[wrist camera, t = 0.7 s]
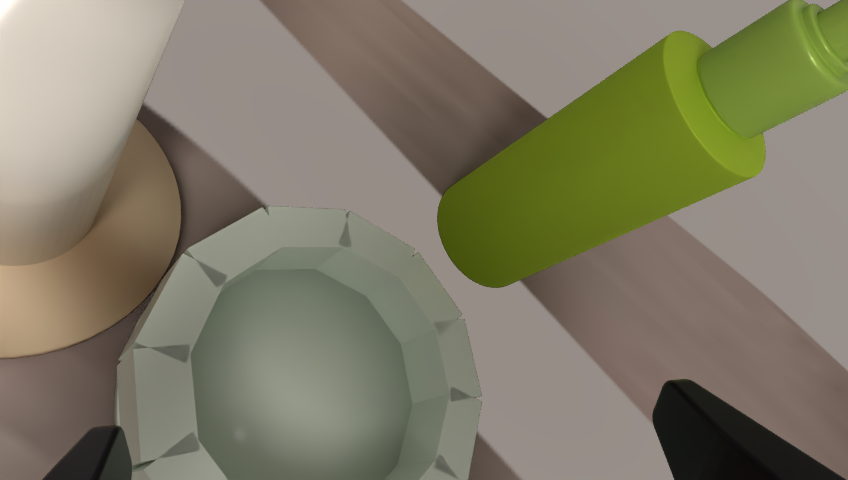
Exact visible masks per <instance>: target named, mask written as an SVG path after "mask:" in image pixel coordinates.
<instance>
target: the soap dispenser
mask: <svg viewBox="0 0 848 480" xmlns="http://www.w3.org/2000/svg"><path fill="white" fill-rule="evenodd" d="M847 90H848V0H840V1H838V2H837V3H835V4H834V5H832V6H830V7H828V8H827V9H825V10H824V9H823V8H821V7H820V6H819V5H817V4H810V5H809V4H808V3H806V2H805V1H803V0H788V1H787V2H785V3H784V4H782V5H780V6H778V7H777V8H775V9H774V10H772V11H771V12H769V13H768V14H766V15H765V16H763V17H761V18H760V19H758V20H757V21H755V22H753V23H752V24H750V25H749V26H747V27H746V28H744V29H742V30H741V31H739V32H738V33H736V34H735V35H733V36H731V37H730V38H728V39H727V40H725V41H724V42H722V43H720V44H719V45H717V46H716V47H714V48H712V47H711V46H710V45H708V44H707V43H706V42H705V41H703V40H702V39H700V38H699V37H697V36H695V35H693V34H691V33H689V32H685V31H675V32H672V33H671V34H669V35H668V36H666V37H665V38H663V39H662V40H660V41H659V42H658V43H656V44H655V45H653V46H652V47H650V48H649V49H648V50H646V51H645V52H643V53H642V54H641V55H639V56H637V57H636V58H635V59H633V60H632V61H630V62H629V63H627V64H626V65H625V66H623V67H622V68H620V69H619V70H617V71H616V72H615V73H613V74H612V75H610V76H609V77H607V78H606V79H605V80H603V81H602V82H600V83H599V84H597V85H596V86H594V87H593V88H592V89H590V90H589V91H587V92H586V93H584V94H583V95H582V96H580V97H579V98H577V99H576V100H574V101H573V102H572V103H570V104H569V105H567V106H566V107H564V108H563V109H562V110H560V111H559V112H558V113H556V114H554V115H553V116H551V117H550V118H549V119H547V120H546V121H544V122H543V123H541V124H540V125H539V126H537V127H536V128H534V129H533V130H531V131H530V132H528V133H527V134H526V135H524V136H523V137H521V138H520V139H518V140H517V141H516V142H514V143H513V144H511V145H510V146H508V147H507V148H506V149H504V150H503V151H501V152H500V153H498V154H497V155H496V156H494V157H493V158H491V159H490V160H488V161H487V162H485V163H484V164H483V165H481V166H480V167H478V168H477V169H475V170H474V171H473V172H471V173H470V174H468V175H467V176H465V177H464V178H463V179H461V180H460V181H458V182H457V183H455V184H454V185H452V186H451V187H450V188H449V189H448V190H447V191H446V192H445V193H444V195H443V197H442V198H441V201H440V204H439V207H438V216H437V222H438V230H439V234H440V238H441V241H442V244H443V246H444V248H445V250H446V252H447V254H448V256H449V257H450V259H451V260H452V262H453V263H454V264H455V266H456V267H457V268H458V269H459V270H460V271H461V272H462V273H463V274H464V275H465V276H467V277H468V278H469V279H471V280H472V281H474V282H476V283H478V284H480V285H483V286H486V287H492V288H499V287H504V286H507V285H510V284H512V283H514V282H516V281H519V280H521V279H523V278H526V277H528V276H530V275H532V274H535V273H537V272H539V271H541V270H544V269H546V268H548V267H551V266H553V265H555V264H557V263H560V262H562V261H564V260H566V259H569V258H571V257H573V256H575V255H578V254H580V253H582V252H585V251H587V250H589V249H591V248H594V247H596V246H598V245H600V244H603V243H605V242H607V241H609V240H612V239H614V238H616V237H619V236H621V235H623V234H625V233H628V232H630V231H632V230H634V229H637V228H639V227H641V226H644V225H646V224H648V223H650V222H653V221H655V220H657V219H659V218H662V217H664V216H666V215H668V214H671V213H673V212H675V211H678V210H680V209H682V208H684V207H687V206H689V205H691V204H693V203H696V202H698V201H700V200H702V199H705V198H707V197H709V196H712V195H714V194H716V193H718V192H721V191H723V190H725V189H727V188H730V187H732V186H734V185H737V184H739V183H741V182H743V181H746V180H748V179H750V178H752V177H754V176H756V175H758V174H759V173H760V172H761V170H762V168H763V166H764V163H765V142H764V136H763V132H765V131H767V130H769V129H771V128H773V127H775V126H777V125H779V124H781V123H783V122H785V121H787V120H789V119H791V118H793V117H795V116H797V115H800V114H802V113H803V112H806V111H808V110H809V109H812V108H814V107H816V106H818V105H820V104H822V103H824V102H826V101H828V100H830V99H832V98H834V97H836V96H838V95H840V94H842V93H844V92H845V91H847Z"/></svg>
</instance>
